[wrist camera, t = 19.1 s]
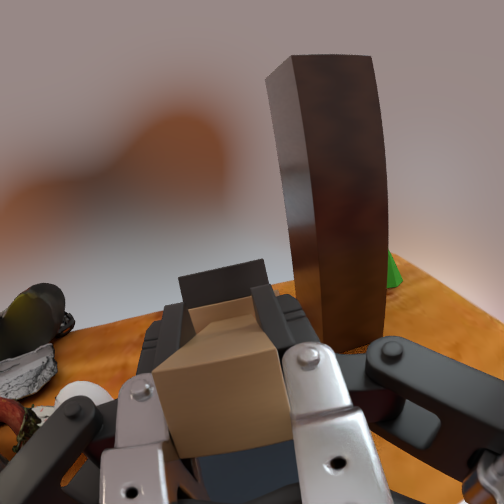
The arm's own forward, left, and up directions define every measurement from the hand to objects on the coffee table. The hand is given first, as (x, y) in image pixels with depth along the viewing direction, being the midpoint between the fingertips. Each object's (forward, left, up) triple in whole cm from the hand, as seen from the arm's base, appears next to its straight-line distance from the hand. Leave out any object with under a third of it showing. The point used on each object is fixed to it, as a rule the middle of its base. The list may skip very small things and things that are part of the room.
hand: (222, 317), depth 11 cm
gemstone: (+25, +29, -20) cm, 43 cm away
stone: (-41, +21, -18) cm, 49 cm away
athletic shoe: (-39, +24, -10) cm, 47 cm away
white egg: (-17, +14, -15) cm, 26 cm away
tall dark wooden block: (+13, +22, -20) cm, 32 cm away
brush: (0, +2, -4) cm, 4 cm away
